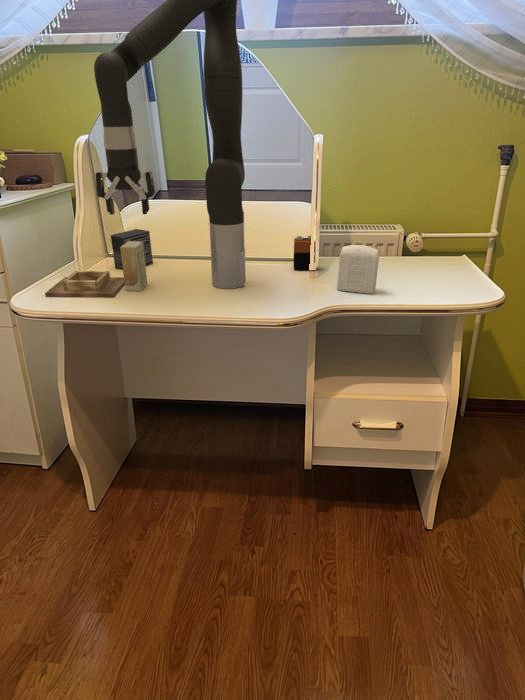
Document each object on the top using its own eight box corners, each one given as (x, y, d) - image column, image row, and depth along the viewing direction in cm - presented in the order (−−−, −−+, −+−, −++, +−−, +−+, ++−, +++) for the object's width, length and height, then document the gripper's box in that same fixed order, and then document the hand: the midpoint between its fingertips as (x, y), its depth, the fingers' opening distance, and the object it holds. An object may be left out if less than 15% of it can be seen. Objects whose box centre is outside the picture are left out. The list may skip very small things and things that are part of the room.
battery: (316, 271, 156) (317, 238, 152) (293, 271, 156) (294, 238, 152) (315, 267, 160) (316, 234, 156) (293, 266, 160) (294, 234, 156)
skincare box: (133, 283, 145) (128, 240, 140) (148, 284, 145) (143, 241, 139) (124, 291, 139) (119, 246, 134) (140, 291, 139) (135, 246, 134)
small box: (139, 260, 167) (136, 227, 162) (154, 263, 163) (150, 230, 159) (113, 268, 159) (109, 234, 154) (128, 271, 156) (123, 237, 151)
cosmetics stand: (127, 280, 148) (126, 268, 146) (113, 297, 135) (112, 284, 133) (65, 280, 148) (63, 268, 146) (45, 296, 135) (43, 284, 134)
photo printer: (376, 290, 140) (380, 244, 135) (374, 295, 136) (379, 249, 131) (338, 286, 143) (341, 242, 138) (335, 291, 139) (338, 246, 134)
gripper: (153, 145, 130) (159, 211, 137) (96, 145, 130) (105, 211, 137) (146, 147, 123) (152, 216, 130) (86, 148, 123) (96, 217, 130)
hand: (128, 214), depth 133 cm, fingers open, 8 cm apart
